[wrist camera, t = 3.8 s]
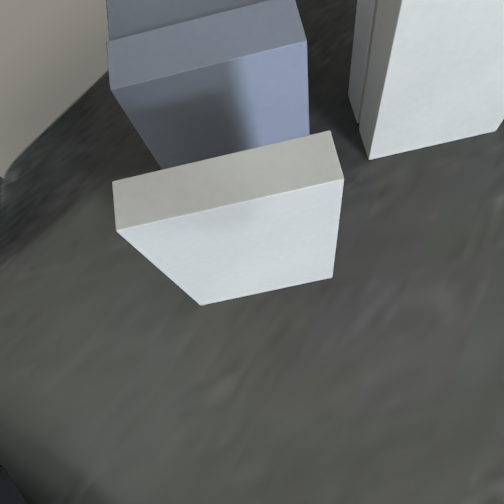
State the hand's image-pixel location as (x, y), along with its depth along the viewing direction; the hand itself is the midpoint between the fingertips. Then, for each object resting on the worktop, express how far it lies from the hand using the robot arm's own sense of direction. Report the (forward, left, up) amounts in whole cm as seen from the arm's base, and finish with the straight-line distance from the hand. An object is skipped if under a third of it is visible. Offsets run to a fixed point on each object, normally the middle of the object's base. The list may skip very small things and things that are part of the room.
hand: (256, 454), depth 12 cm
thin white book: (-8, +7, -19) cm, 22 cm away
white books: (-7, +25, -19) cm, 32 cm away
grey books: (-19, +16, -19) cm, 31 cm away
